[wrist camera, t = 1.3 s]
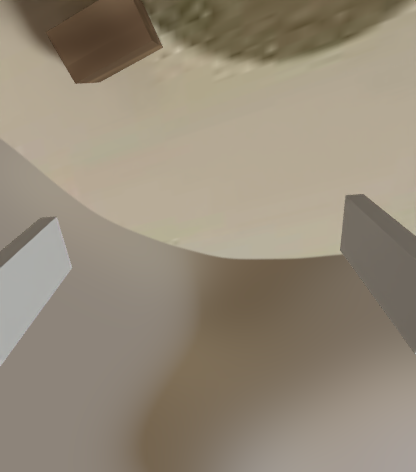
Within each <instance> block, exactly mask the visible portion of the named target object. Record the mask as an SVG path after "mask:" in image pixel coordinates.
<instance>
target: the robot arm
mask: <svg viewBox="0 0 416 472" xmlns="http://www.w3.org/2000/svg"><path fill="white" fill-rule="evenodd" d="M340 251H341V252H342V253H343V255H344V256H345V258H346V259H347V260H348V262H349V263H350V264H351V266H352V267H353V269H354V270H355V271H356V273H357V274H358V276H359V277H360V278H361V280H362V281H363V283H364V284H365V285H366V287H367V288H368V290H369V291H370V292H371V294H372V295H373V296H374V298H375V299H376V301H377V302H378V303H379V305H380V306H381V308H382V309H383V310H384V312H385V313H386V315H387V316H388V317H389V319H390V320H391V321H392V323H393V324H394V326H395V327H396V328H397V330H398V331H399V333H400V334H401V335H402V337H403V338H404V340H405V341H406V342H407V344H408V345H409V346H410V348H411V349H412V351H413V352H414V353H415V354H416V236H415V235H414V234H412V233H411V232H410V231H409V230H407V229H406V228H405V227H404V226H402V225H401V224H400V223H399V222H397V221H396V220H395V219H394V218H392V217H391V216H390V215H389V214H387V213H386V212H385V211H384V210H382V209H381V208H380V207H379V206H377V205H376V204H375V203H374V202H372V201H371V200H370V199H369V198H367V197H366V196H365V195H364V194H358V195H346V196H345V206H344V217H343V227H342V237H341V247H340ZM71 269H72V266H71V262H70V259H69V256H68V253H67V249H66V246H65V243H64V239H63V236H62V233H61V229H60V226H59V222H58V219H57V217H46V218H40V219H39V220H37V221H36V222H35V223H34V224H33V225H31V226H30V227H29V228H28V229H27V230H25V231H24V232H23V233H22V234H21V235H20V236H18V237H17V238H16V239H15V240H13V241H12V242H11V243H10V244H9V245H7V246H6V247H5V248H4V249H3V250H1V251H0V366H1V365H2V363H3V362H4V361H5V359H6V358H7V356H8V355H9V354H10V352H11V351H12V349H13V348H14V347H15V345H16V344H17V343H18V341H19V340H20V339H21V337H22V335H24V333H25V332H26V330H27V329H28V328H29V326H30V325H31V323H32V322H33V321H34V319H35V318H36V317H37V315H38V314H39V313H40V311H41V310H42V308H43V307H44V306H45V304H46V303H47V302H48V300H49V299H50V297H51V296H52V294H53V293H54V292H55V290H56V289H57V288H58V286H59V285H60V284H61V282H62V281H63V280H64V278H65V277H66V275H67V274H68V273H69V271H70V270H71Z"/></svg>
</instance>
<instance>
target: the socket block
mask: <svg viewBox="0 0 416 472" xmlns="http://www.w3.org/2000/svg"><path fill="white" fill-rule="evenodd" d="M46 34H47V35H48V37H49V39H50V41H51V42H52V44H53V46H54V48H55V49H56V51H57V53H58V54H59V56H60V58H61V60H62V61H63V63H64V65H65V66H66V68H67V70H68V72H69V73H70V75H71V77H72V79H73V80H74V82H75V84H77V83H96V82H101V81H103V80H105V79H106V78H108V77H110V76H112V75H114V74H116V73H117V72H119V71H121V70H123V69H125V68H126V67H128V66H130V65H132V64H134V63H135V62H137V61H139V60H141V59H143V58H145V57H146V56H148V55H150V54H152V53H154V52H155V51H157V50H159V49H161V48H163V46H162V44H161V42H160V40H159V38H158V36H157V33H156V31H155V29H154V27H153V25H152V23H151V20H150V18H149V16H148V14H147V12H146V9H145V7H144V5H143V3H142V1H141V0H98V1H96V2H95V3H93V4H91V5H90V6H88V7H86V8H85V9H83V10H81V11H80V12H78V13H76V14H75V15H73V16H71V17H70V18H68V19H66V20H65V21H63V22H62V23H60V24H58V25H57V26H55V27H53V28H52V29H50V30H48V31H47V32H46Z"/></svg>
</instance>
